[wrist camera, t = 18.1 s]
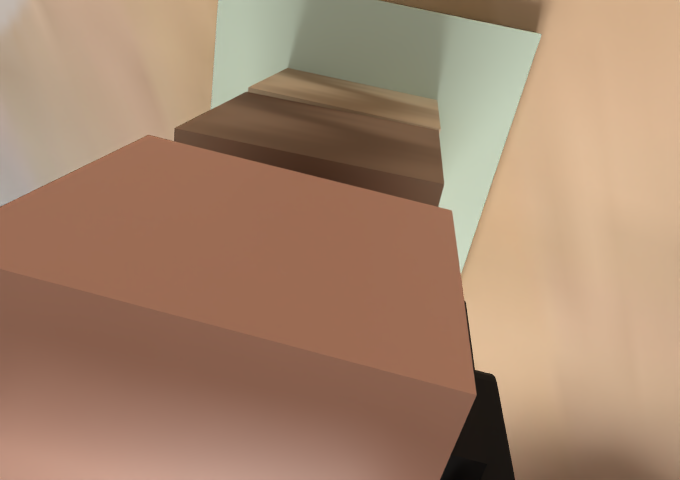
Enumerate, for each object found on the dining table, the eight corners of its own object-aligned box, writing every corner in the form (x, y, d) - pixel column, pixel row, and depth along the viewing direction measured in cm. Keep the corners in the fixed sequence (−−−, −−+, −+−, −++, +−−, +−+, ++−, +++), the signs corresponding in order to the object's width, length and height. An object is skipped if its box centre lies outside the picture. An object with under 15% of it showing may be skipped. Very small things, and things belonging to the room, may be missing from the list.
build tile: (209, 240, 25) (201, 249, 24) (229, -31, 20) (220, -32, 19) (448, 297, 24) (449, 308, 24) (536, 32, 19) (541, 34, 18)
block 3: (140, 370, 12) (-19, 576, 8) (148, 134, 10) (-83, 246, 5) (377, 435, 12) (350, 685, 8) (451, 210, 10) (476, 394, 5)
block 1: (269, 205, 23) (231, 256, 18) (287, 67, 20) (248, 87, 16) (401, 236, 22) (395, 295, 18) (437, 99, 20) (440, 129, 15)
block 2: (232, 260, 18) (170, 344, 14) (246, 91, 16) (174, 127, 11) (396, 296, 18) (386, 395, 13) (438, 130, 15) (444, 184, 11)
